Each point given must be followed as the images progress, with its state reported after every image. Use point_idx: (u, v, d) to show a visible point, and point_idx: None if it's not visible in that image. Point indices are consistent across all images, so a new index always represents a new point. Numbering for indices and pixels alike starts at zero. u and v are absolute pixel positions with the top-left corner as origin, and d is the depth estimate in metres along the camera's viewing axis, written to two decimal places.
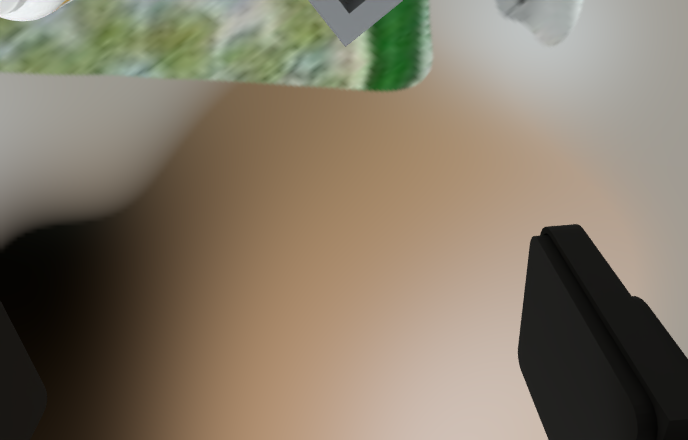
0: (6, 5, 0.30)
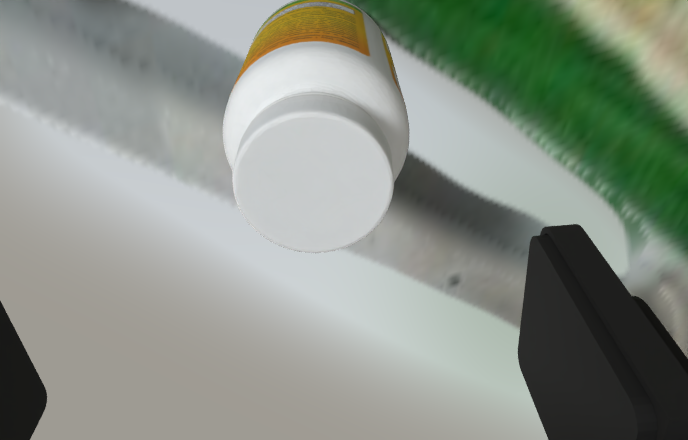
0: None
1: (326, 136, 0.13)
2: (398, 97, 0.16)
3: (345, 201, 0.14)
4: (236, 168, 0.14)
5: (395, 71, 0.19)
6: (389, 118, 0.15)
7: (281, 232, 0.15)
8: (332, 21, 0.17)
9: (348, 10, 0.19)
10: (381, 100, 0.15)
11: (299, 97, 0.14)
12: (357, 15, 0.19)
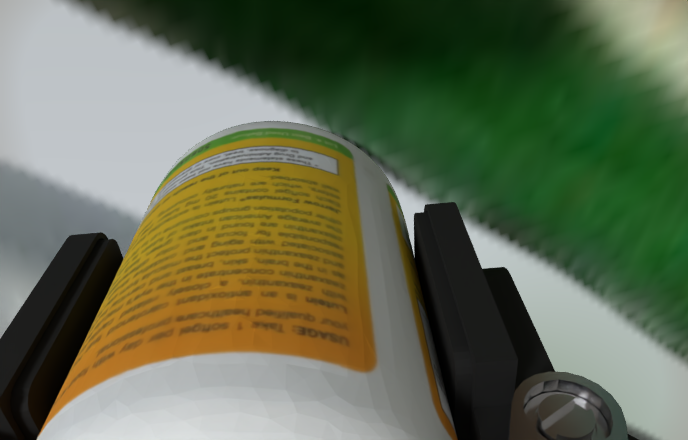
0: None
1: None
2: None
3: None
4: None
5: (422, 297, 0.09)
6: None
7: None
8: (289, 225, 0.08)
9: (326, 164, 0.10)
10: None
11: None
12: (344, 174, 0.10)
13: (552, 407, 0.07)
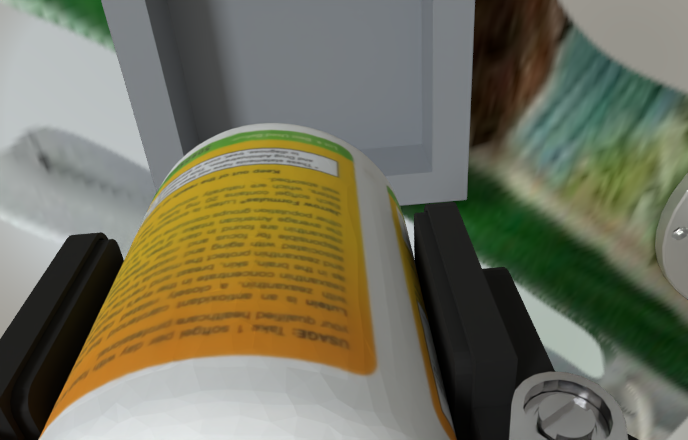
0: None
1: None
2: None
3: None
4: None
5: (422, 299, 0.09)
6: None
7: None
8: (289, 228, 0.08)
9: (326, 166, 0.10)
10: None
11: None
12: (344, 176, 0.10)
13: (552, 407, 0.07)
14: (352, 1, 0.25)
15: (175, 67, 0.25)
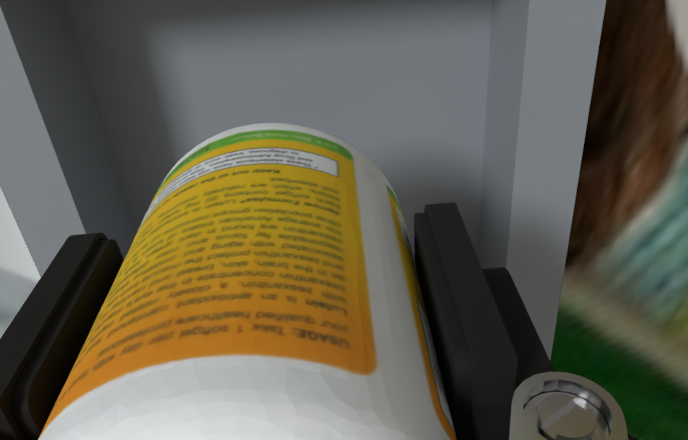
0: None
1: None
2: None
3: None
4: None
5: (422, 299, 0.09)
6: None
7: None
8: (289, 227, 0.08)
9: (326, 166, 0.10)
10: None
11: None
12: (344, 175, 0.10)
13: (552, 407, 0.07)
14: (380, 84, 0.16)
15: (106, 184, 0.16)
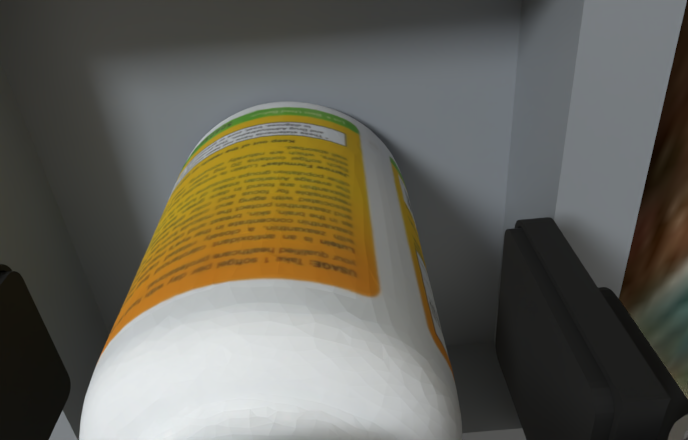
0: None
1: None
2: (443, 383, 0.07)
3: None
4: None
5: (421, 251, 0.11)
6: None
7: None
8: (304, 185, 0.09)
9: (335, 137, 0.11)
10: (410, 411, 0.07)
11: None
12: (351, 145, 0.11)
13: None
14: (382, 127, 0.13)
15: (48, 249, 0.13)
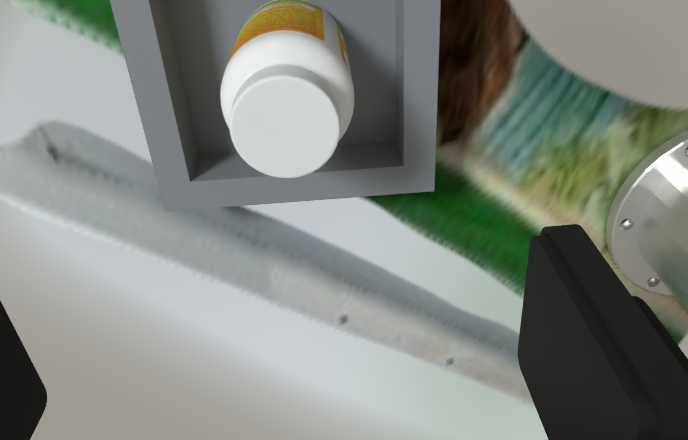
0: None
1: (292, 92, 0.20)
2: (344, 69, 0.22)
3: (307, 139, 0.21)
4: (232, 116, 0.20)
5: (346, 53, 0.25)
6: (338, 84, 0.22)
7: (263, 162, 0.21)
8: (298, 16, 0.24)
9: (311, 8, 0.26)
10: (332, 70, 0.22)
11: (274, 67, 0.20)
12: (317, 12, 0.26)
13: None
14: (334, 13, 0.28)
15: (175, 69, 0.28)
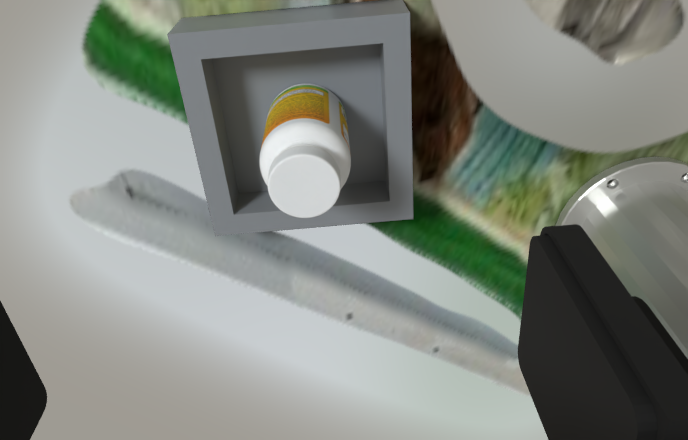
0: None
1: (308, 164, 0.30)
2: (343, 143, 0.33)
3: (319, 193, 0.31)
4: (269, 179, 0.31)
5: (345, 125, 0.36)
6: (339, 153, 0.33)
7: (290, 208, 0.32)
8: (311, 103, 0.35)
9: (320, 93, 0.37)
10: (335, 145, 0.32)
11: (296, 146, 0.31)
12: (325, 95, 0.37)
13: None
14: (337, 92, 0.38)
15: (223, 134, 0.39)
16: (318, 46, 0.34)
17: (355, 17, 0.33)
